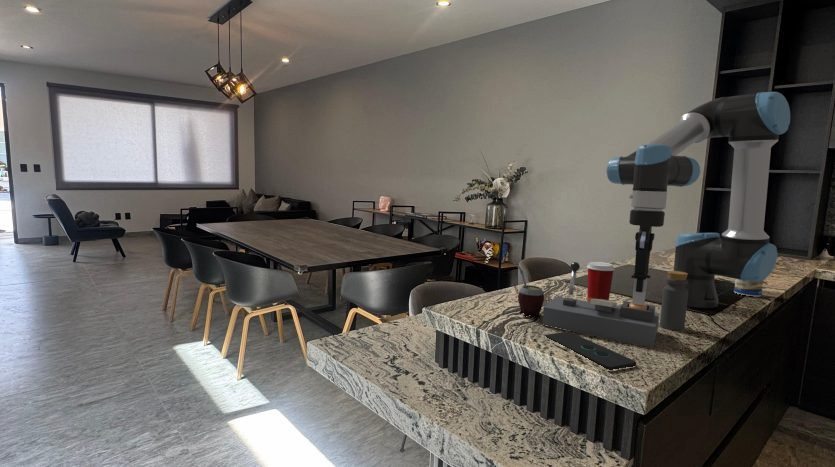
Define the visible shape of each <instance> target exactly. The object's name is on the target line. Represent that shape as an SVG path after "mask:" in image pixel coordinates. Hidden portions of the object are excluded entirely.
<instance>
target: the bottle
mask: <svg viewBox="0 0 835 467" xmlns="http://www.w3.org/2000/svg"><path fill="white" fill-rule="evenodd" d="M687 275H688V273H685V272H680V271H674V270H668V271H667V277H666V278H665V282H666V283H667V285H665V286H664V287H663V290H662V298H661V299H662V300H661V309H660V315H659V326H660V327H661V328H664V329H667V330H671V331H684V330H685V324H686V317H687V308H688V306H687V300H688V290H687V289H686V288H685V285H686V284H688V280H686V278H687Z"/></svg>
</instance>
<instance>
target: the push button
mask: <svg viewBox="0 0 835 467" xmlns="http://www.w3.org/2000/svg"><path fill="white" fill-rule="evenodd" d="M645 304H646V303H645ZM645 304H644V305H637V304H632V303H630V304H629V307H631V308H637V309H643V310H647V305H648V304H647V305H645Z"/></svg>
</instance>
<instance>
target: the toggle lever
mask: <svg viewBox="0 0 835 467" xmlns="http://www.w3.org/2000/svg"><path fill="white" fill-rule="evenodd" d="M580 267H581V266H580V264H579V263H578V262H577V261H574V262H572V263H571V264H570V270H571V276H570V281H569V282H570V283H569V286H568V287H569V288H568V295H571V296H573V295H574V291H575V285H576V278H577V271H579V270H580Z"/></svg>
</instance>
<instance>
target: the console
mask: <svg viewBox="0 0 835 467" xmlns="http://www.w3.org/2000/svg"><path fill="white" fill-rule="evenodd" d="M630 303H632V301H626V300H624V301H623V302H622V304H621V305H620V306H618V305H617V306H616V307H608V306H602V305H596V304H590V302H588V301H587V300H583V299H582V300H581V299H576V298H572V297H571V298H570V297H564V296H556V297H555V298H553V299H552V300H551V301H550V302H548V303H547V304H546V305H545V306H544V305H543V311H542V324H544V325H548V326H552V327H557V328H561V329H566V330H570V331H569V332H571V331H575V332H574V333H577V332H579V333H578V334H582V333H583V335H587V336H594V337H597V338H601V339H607V340H612V341H616V342H617V341H618V342H622V343H628V344H634V345H637V346H644V347H648V348H652V349H653V348H654V346H655V341H656V340H657V339H656V338H657V334H658V330H659V329H658V328H659V322H660V312H656V305H651V304H648V303H647V304H646V303H645V305H647V310H643V309H637V308H631V307H629V304H630ZM561 329H560V330H561ZM566 330H565V331H566Z"/></svg>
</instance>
